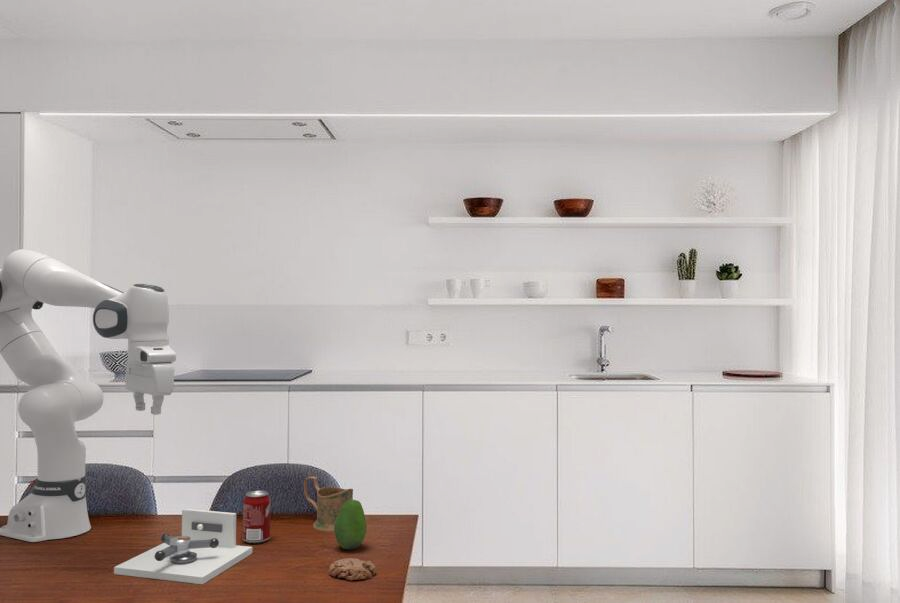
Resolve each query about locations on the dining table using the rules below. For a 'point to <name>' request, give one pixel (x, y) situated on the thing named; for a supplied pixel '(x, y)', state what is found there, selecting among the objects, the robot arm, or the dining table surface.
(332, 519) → the tan ceramic pitcher
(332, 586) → the dining table surface
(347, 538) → the fruit
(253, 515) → the soda can
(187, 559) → the capstan
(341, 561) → the cookie
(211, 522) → the stand
